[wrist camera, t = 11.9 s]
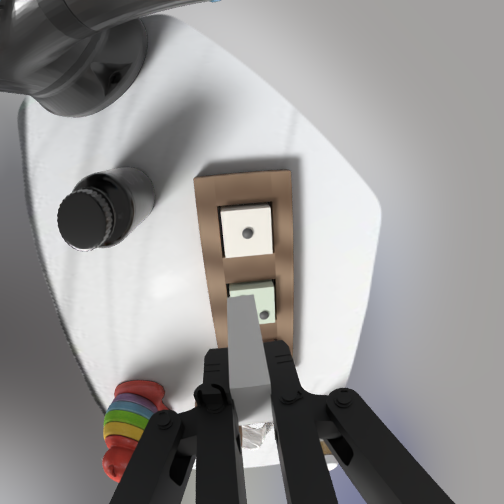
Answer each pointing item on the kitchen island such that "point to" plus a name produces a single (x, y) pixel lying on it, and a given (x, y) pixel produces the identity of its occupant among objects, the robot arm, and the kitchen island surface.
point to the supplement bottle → (105, 208)
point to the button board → (248, 267)
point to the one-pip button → (247, 229)
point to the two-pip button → (258, 297)
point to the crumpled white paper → (252, 437)
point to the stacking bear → (128, 422)
